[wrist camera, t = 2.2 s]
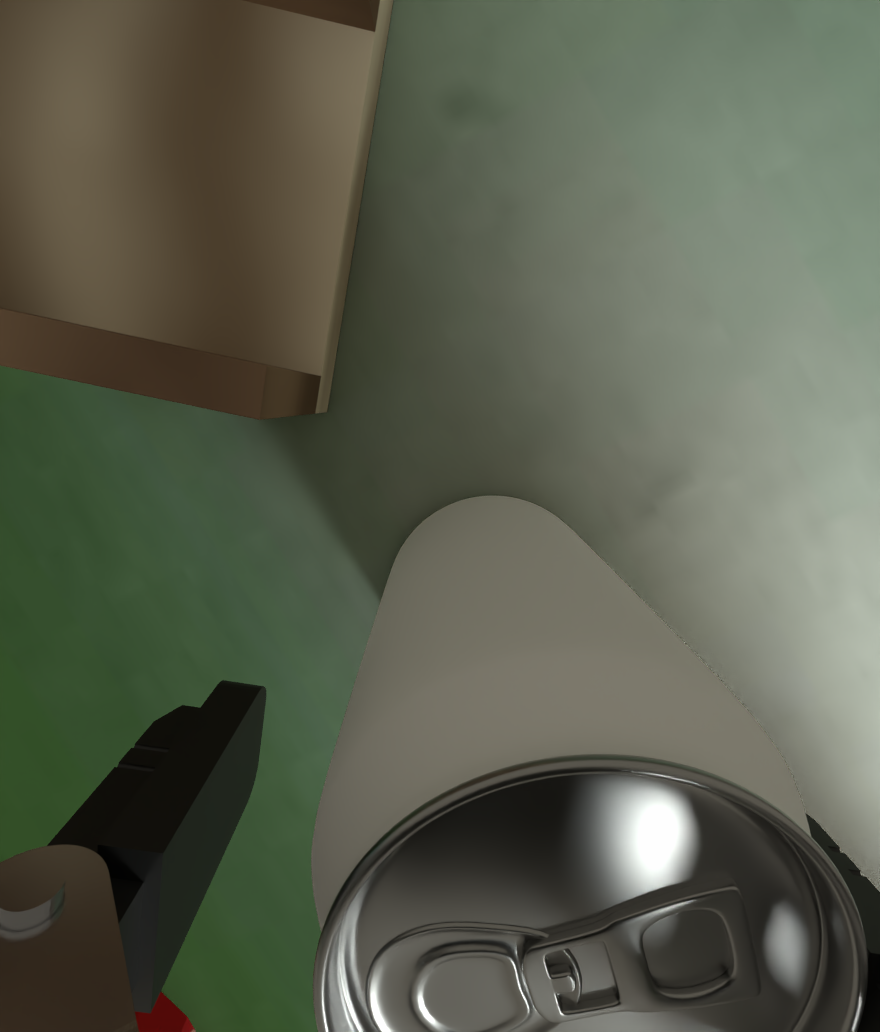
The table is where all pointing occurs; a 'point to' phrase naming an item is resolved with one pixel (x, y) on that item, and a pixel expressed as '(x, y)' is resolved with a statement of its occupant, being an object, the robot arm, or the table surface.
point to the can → (561, 814)
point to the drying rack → (184, 193)
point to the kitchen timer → (163, 1018)
